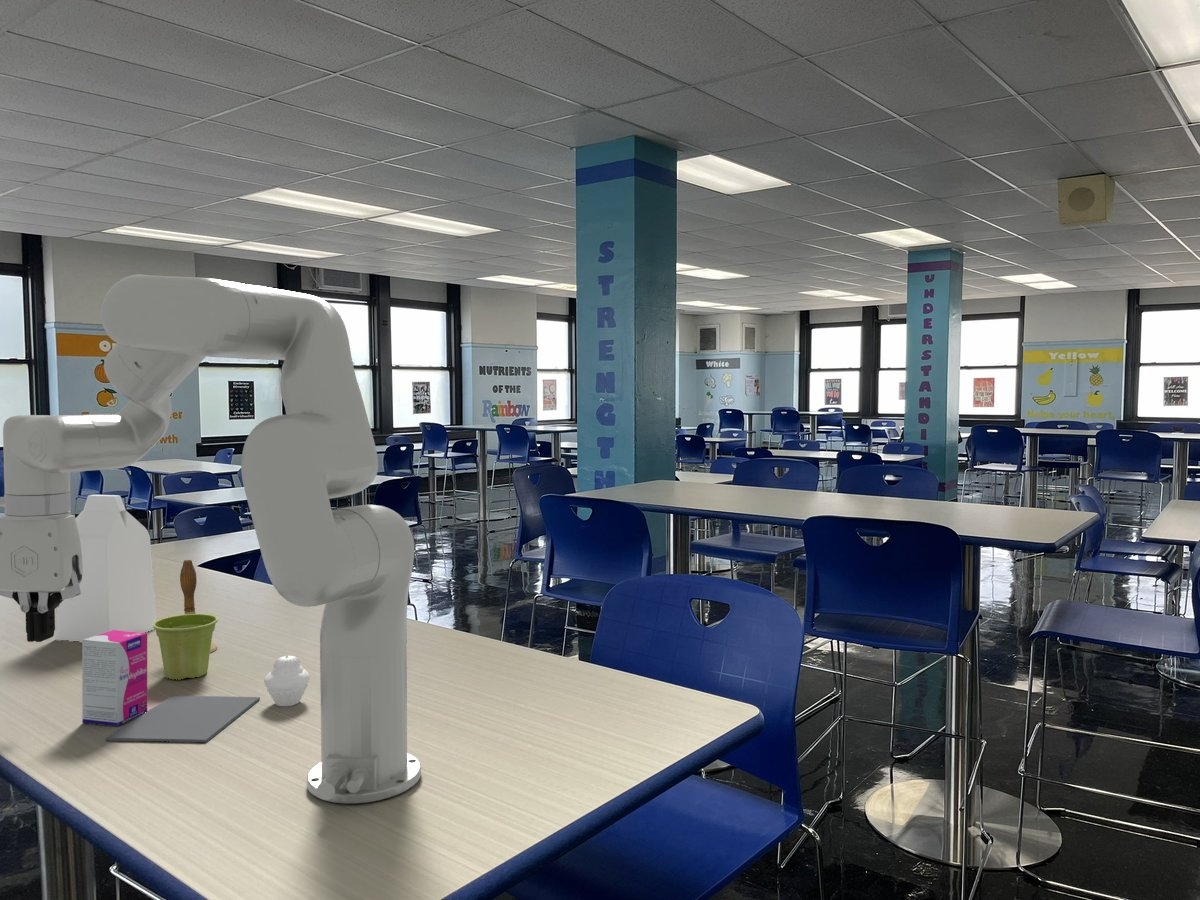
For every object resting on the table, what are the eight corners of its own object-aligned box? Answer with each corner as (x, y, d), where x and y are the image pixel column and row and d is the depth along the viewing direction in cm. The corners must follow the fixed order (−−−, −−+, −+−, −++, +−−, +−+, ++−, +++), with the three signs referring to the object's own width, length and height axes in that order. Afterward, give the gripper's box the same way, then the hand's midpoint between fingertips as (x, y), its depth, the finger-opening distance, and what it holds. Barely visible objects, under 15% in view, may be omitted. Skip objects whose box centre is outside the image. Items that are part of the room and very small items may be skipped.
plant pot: (232, 668, 141) (231, 615, 140) (190, 686, 132) (188, 630, 131) (184, 663, 143) (182, 611, 143) (139, 681, 134) (138, 625, 134)
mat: (206, 742, 110) (206, 739, 110) (106, 740, 111) (106, 737, 111) (259, 699, 126) (259, 697, 126) (172, 698, 127) (172, 695, 127)
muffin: (319, 700, 126) (318, 653, 126) (284, 713, 121) (283, 663, 120) (290, 693, 129) (289, 646, 129) (255, 705, 124) (254, 657, 124)
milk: (55, 640, 157) (50, 497, 156) (105, 624, 169) (101, 491, 167) (110, 644, 154) (106, 499, 153) (157, 628, 166) (154, 493, 164)
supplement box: (119, 727, 115) (117, 642, 115) (81, 723, 116) (78, 639, 116) (150, 712, 121) (148, 631, 120) (113, 709, 122) (111, 628, 122)
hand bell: (171, 661, 145) (169, 566, 144) (159, 650, 151) (157, 559, 151) (223, 652, 150) (221, 561, 149) (209, 641, 157) (207, 554, 156)
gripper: (-37, 508, 114) (-34, 645, 115) (74, 511, 114) (76, 648, 115) (4, 501, 121) (7, 630, 123) (108, 504, 121) (110, 633, 122)
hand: (40, 638), depth 119 cm, fingers closed
